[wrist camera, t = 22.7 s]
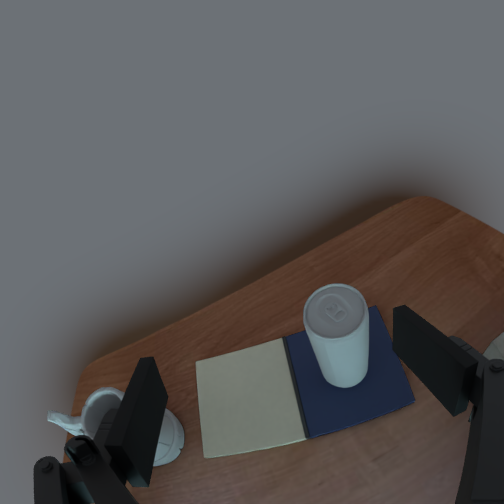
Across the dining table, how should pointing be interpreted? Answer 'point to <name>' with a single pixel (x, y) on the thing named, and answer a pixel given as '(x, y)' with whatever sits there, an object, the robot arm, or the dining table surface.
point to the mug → (112, 398)
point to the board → (292, 393)
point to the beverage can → (339, 333)
